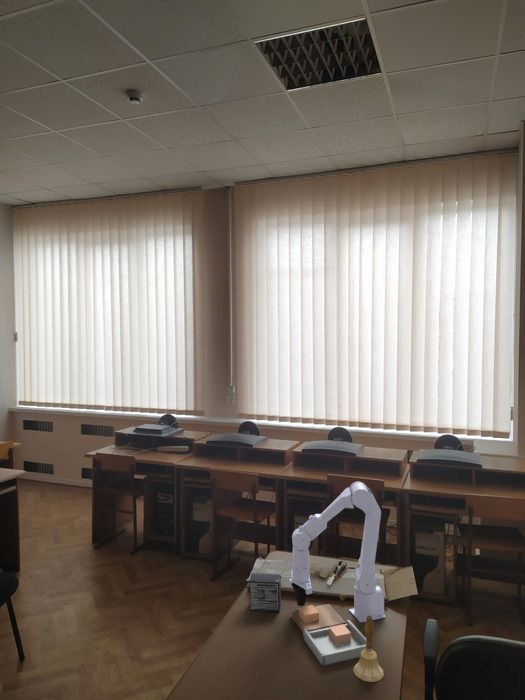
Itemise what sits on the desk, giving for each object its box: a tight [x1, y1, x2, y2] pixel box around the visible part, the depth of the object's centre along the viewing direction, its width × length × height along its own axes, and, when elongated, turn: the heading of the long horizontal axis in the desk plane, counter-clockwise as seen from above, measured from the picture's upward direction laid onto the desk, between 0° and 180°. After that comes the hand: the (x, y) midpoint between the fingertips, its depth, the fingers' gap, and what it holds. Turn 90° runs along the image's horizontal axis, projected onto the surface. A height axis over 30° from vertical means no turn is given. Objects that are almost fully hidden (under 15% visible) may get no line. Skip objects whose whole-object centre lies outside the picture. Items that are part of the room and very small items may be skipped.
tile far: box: [298, 604, 319, 623], centre depth 166 cm, size 5×5×2 cm
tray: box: [302, 619, 366, 667], centre depth 154 cm, size 16×14×3 cm
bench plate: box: [290, 603, 347, 634], centre depth 167 cm, size 14×12×2 cm
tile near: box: [329, 624, 351, 644], centre depth 158 cm, size 5×5×2 cm
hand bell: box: [353, 616, 384, 683], centre depth 142 cm, size 8×8×16 cm
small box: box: [249, 573, 282, 613], centre depth 177 cm, size 11×6×10 cm, turn 84°
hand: (300, 604), depth 173 cm, fingers closed
